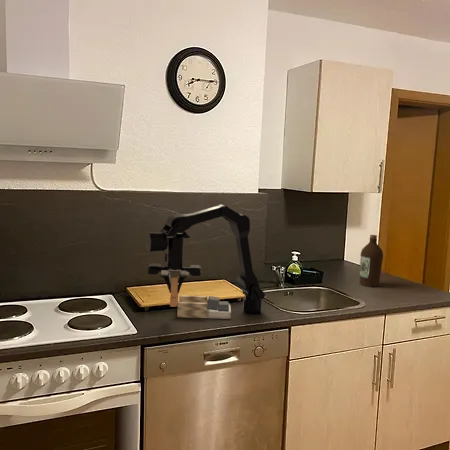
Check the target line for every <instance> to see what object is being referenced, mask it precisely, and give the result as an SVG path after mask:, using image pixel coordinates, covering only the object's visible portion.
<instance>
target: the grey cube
mask: <svg viewBox="0 0 450 450" xmlns="http://www.w3.org/2000/svg"><path fill="white" fill-rule="evenodd" d="M219 301H220V297H218V296H211V295H209V296H208V297H207V303H208V304H207V309H210V310H216V311H217V310H218V304H219Z"/></svg>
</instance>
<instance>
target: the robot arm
mask: <svg viewBox="0 0 450 450" xmlns="http://www.w3.org/2000/svg"><path fill="white" fill-rule="evenodd" d="M219 218H223V219H224V220H225V221H227V222H228V224H229V228H230V231H231V232H232V234H233V235H234V238H235V243H236V248H237V254H238V255H237V256H238V261H239V267H240V273H239V276H236V281H237V287H238V288H239V289H240V290H241V291H242V295H244V299H243V302H242V310H243V312H244V314H245V315H262V300H264V299H265V297H266V293H265V292H264V291H263V290H262V289H261V287H260V286H261V285H260V283H259V280H258V279H259V278H257V275H256V273H255V272H254V268H253V262H252V256H251V248H250V242H249V234H250V230H251V220H250V217H248V216H247V215H245V214H242V213H238V212H237V211H235V210H233V209H232V208H230V207H229V206H228V205H224V204H218V205H216V206H212V207H208V208H205V209H201V210H198V211H195V212H191V213H177V214H171V215H169V216H168V217H167V219H166V223H165V224H164V225H163V227H162V228H161V229H160V232H153V231H150V232H149V231H148V232H147V234H148V235H147V237H146V240H145V248H146V251H147V252H148V253H156V252H158V253H159V252H165V250H167V251H166V253H164V263H166V266H161V265H162V264H161V263H153V262H152V263H150V264H149V265H148V267H147V274H148V275H158V274H159V273H160V278H163V279H164V281H165V283H166V285H167V289H168V291H169V294H171V273H179V276H178V294H179V293H180V290H181V288H182V285H183V283H184V282H185V279H188V278H189V275H190V276H192V277H201V275H202V266H201V264H190V266H189V267H186V266H184V265H185V264H184V263H185V259H184V250H185V249H184V248H185V247H184V246H185V239H190V238H191V237H190V235H188V233H187V232H186V231H187V230H189V229H191V228H192V227H193V226H195V225H198V224H201V223H205V222H208V221H212V220H215V219H219Z"/></svg>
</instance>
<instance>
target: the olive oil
mask: <svg viewBox="0 0 450 450" xmlns="http://www.w3.org/2000/svg"><path fill="white" fill-rule="evenodd" d="M377 237H378V235H376V234H370V235H369V242H368V243H367V244H366V245H365V246H363V247H362V249H361V252H360V260H359V262H360V265H359V266H360V267H359V285H360V284H362V285H361V286H363V285H365V286H364V287H367V286H378V287H379V286H380V281H381V274H382V265H383V262H384V261H383V260H384V253H383V250H382V249H381V247H380V246H379V244H378V243H377V242H378V238H377Z"/></svg>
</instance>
